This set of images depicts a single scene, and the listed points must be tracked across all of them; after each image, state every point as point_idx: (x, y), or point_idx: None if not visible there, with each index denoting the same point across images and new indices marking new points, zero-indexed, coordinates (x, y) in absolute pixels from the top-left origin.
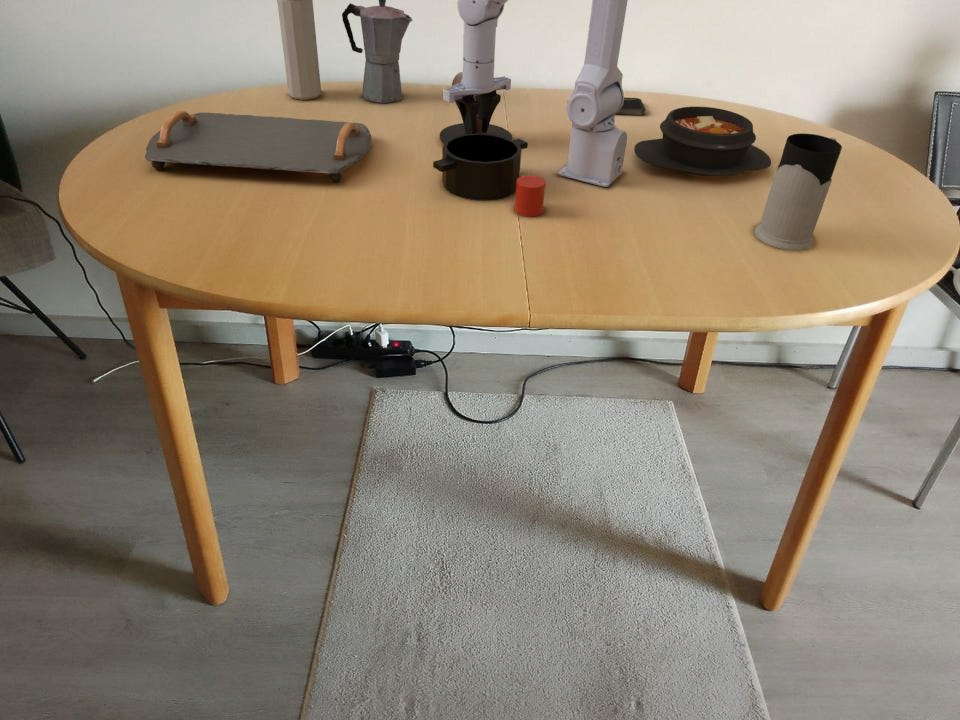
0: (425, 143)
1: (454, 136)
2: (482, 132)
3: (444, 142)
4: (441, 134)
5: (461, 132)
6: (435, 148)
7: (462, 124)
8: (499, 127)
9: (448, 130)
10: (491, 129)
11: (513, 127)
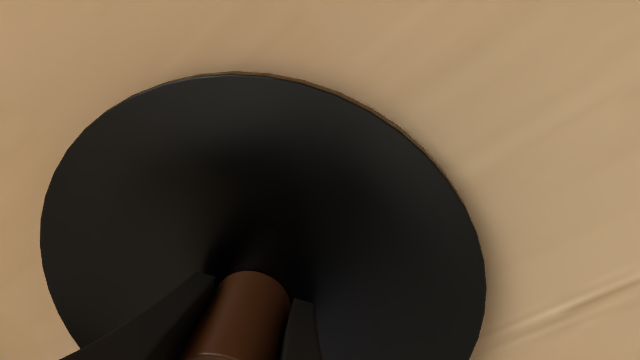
0: (4, 86)
1: (139, 221)
2: (319, 305)
3: (44, 219)
4: (94, 139)
5: (222, 215)
6: (14, 179)
7: (346, 133)
8: (465, 337)
9: (181, 129)
10: (399, 321)
11: (601, 329)
